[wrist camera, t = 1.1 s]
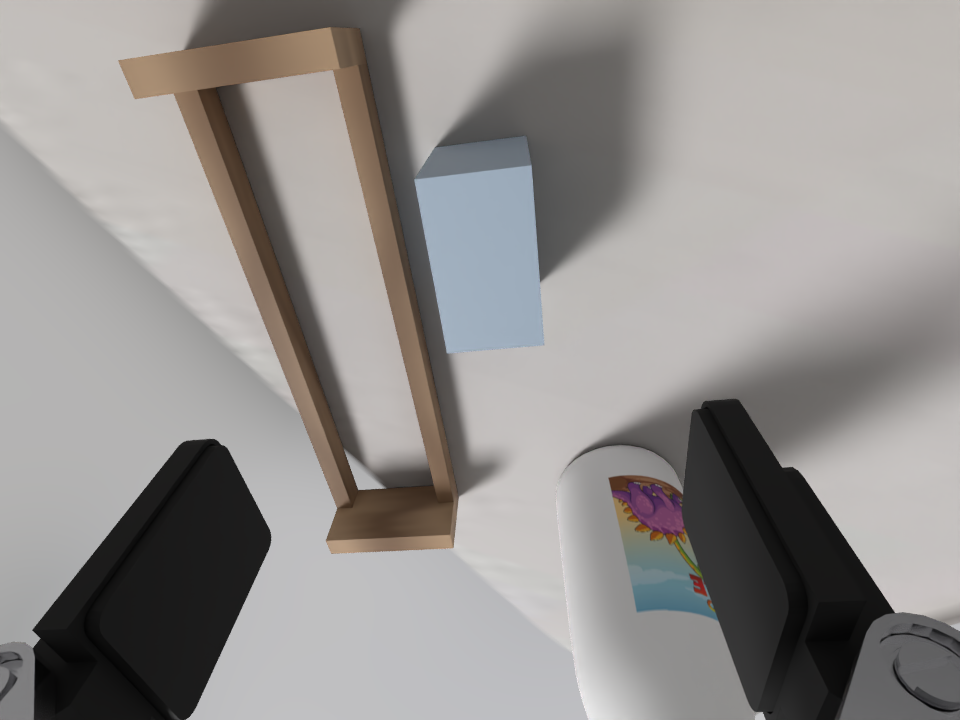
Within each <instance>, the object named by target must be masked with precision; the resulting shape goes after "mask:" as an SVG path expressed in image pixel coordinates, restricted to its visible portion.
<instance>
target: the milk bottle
mask: <svg viewBox="0 0 960 720" xmlns="http://www.w3.org/2000/svg"><path fill="white" fill-rule="evenodd" d="M682 499H683V488H682V486H681V484H680V481H679V479H678V477H677V474H676V473H675V471H674V469H673V468H672V467H671V465H670V464H669V463H668V462H666V461H665V460H664V459H663V458H662V457H660V456H659V455H657V454H655V453H654V452H652V451H649V450H646V449H644V448H641V447H635V446H631V445H615V446H606V447H602V448H598V449H595V450H592V451H590V452H588V453H585V454H583V455H582V456H580V457H579V458H577V459H575V460H574V461H573V462H572V463H571V464H570V465H569V466H568V467H567V468H566V470H565V471H564V472H563V473H562V475H561V478H560V480H559V482H558V484H557V488H556V508H557V518H558V528H559V538H560V547H561V557H562V566H563V576H564V585H565V594H566V602H567V611H568V620H569V629H570V637H571V644H572V651H573V658H574V664H575V671H576V677H577V681H578V686H579V690H580V694H581V698H582V701H583V704H584V707H585V711H586V714H587V716H588V719H589V720H755V711H753V710H752V709H751V707H750V705H749V703H748V701H747V698H746V695H745V693H744V690H743V687H742V684H741V682H740V679H739V676H738V673H737V671H736V668H735V665H734V662H733V660H732V657H731V654H730V651H729V649H728V646H727V643H726V640H725V637H724V635H723V632H722V629H721V626H720V624H719V621H718V618H717V615H716V613H715V610H714V607H713V604H712V602H711V599H710V596H709V593H708V591H707V588H706V585H705V582H704V580H703V577H702V574H701V571H700V568H699V566H698V563H697V560H696V557H695V555H694V552H693V549H692V546H691V544H690V541H689V538H688V535H687V533H686V530H685V527H684V524H683V519H682Z"/></svg>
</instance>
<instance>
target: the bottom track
mask: <svg viewBox="0 0 960 720" xmlns="http://www.w3.org/2000/svg"><path fill="white" fill-rule="evenodd" d="M118 61H119V64H120V66H121V68H122V71H123V73H124V75H125V78H126V80H127V82H128V85H129V87H130V89H131V91H132V94H133V96H134V98H135V99H139V98H146V97H153V96H159V95H166V94H173V93H174V96H175V98H176V101H177V103H178V106H179V108H180V111H181V113H182V116H183V118H184V121H185V123H186V126H187V129H188V131H189V134H190V136H191V139H192V141H193V144H194V146H195V149H196V151H197V154H198V156H199V159H200V161H201V164H202V167H203V169H204V172H205V174H206V177H207V179H208V182H209V184H210V187H211V189H212V192H213V194H214V197H215V200H216V202H217V205H218V207H219V210H220V212H221V215H222V217H223V220H224V222H225V225H226V227H227V230H228V232H229V235H230V238H231V240H232V243H233V245H234V248H235V250H236V253H237V255H238V258H239V260H240V263H241V265H242V268H243V270H244V273H245V276H246V278H247V281H248V283H249V286H250V288H251V291H252V293H253V296H254V298H255V301H256V303H257V306H258V308H259V311H260V314H261V316H262V319H263V321H264V324H265V326H266V329H267V331H268V334H269V336H270V339H271V341H272V344H273V347H274V349H275V352H276V354H277V357H278V359H279V362H280V364H281V367H282V369H283V372H284V374H285V377H286V379H287V382H288V385H289V387H290V390H291V392H292V395H293V397H294V400H295V402H296V405H297V407H298V410H299V412H300V415H301V417H302V420H303V423H304V425H305V428H306V430H307V433H308V435H309V438H310V440H311V443H312V445H313V448H314V450H315V453H316V455H317V458H318V461H319V463H320V466H321V468H322V471H323V473H324V476H325V478H326V481H327V483H328V486H329V488H330V491H331V493H332V496H333V498H334V501H335V504H336V506H337V511H336V514H335V517H334V520H333V523H332V525H331V528H330V531H329V533H328V536H327V539H326V542H327V545H328V547H329V549H330V551H331V553H332V554H334V553H355V552H380V551H402V550H423V549H446V548H453V546H454V537H455V527H456V518H457V508H458V499H459V497H458V492H457V487H456V483H455V478H454V473H453V468H452V464H451V459H450V454H449V449H448V445H447V440H446V435H445V430H444V426H443V421H442V416H441V412H440V407H439V402H438V397H437V393H436V388H435V383H434V378H433V374H432V369H431V364H430V359H429V355H428V350H427V345H426V341H425V336H424V331H423V326H422V322H421V317H420V312H419V307H418V303H417V298H416V293H415V288H414V284H413V279H412V274H411V269H410V265H409V260H408V255H407V251H406V246H405V241H404V236H403V232H402V227H401V222H400V217H399V213H398V208H397V203H396V198H395V194H394V189H393V184H392V179H391V175H390V170H389V165H388V161H387V156H386V151H385V146H384V142H383V137H382V132H381V127H380V123H379V118H378V113H377V108H376V104H375V99H374V94H373V89H372V85H371V80H370V75H369V71H368V66H367V61H366V56H365V52H364V47H363V42H362V37H361V33H360V28H337V27H328V28H322V29H315V30H309V31H303V32H296V33H290V34H284V35H277V36H271V37H265V38H258V39H252V40H245V41H239V42H233V43H226V44H220V45H214V46H207V47H201V48H195V49H188V50H182V51H175V52H169V53H163V54H156V55H150V56H144V57H137V58H131V59H125V60H118ZM328 70H333V72H334V76H335V80H336V84H337V88H338V92H339V96H340V101H341V105H342V109H343V113H344V117H345V121H346V125H347V129H348V134H349V138H350V142H351V146H352V150H353V154H354V158H355V162H356V166H357V171H358V175H359V179H360V183H361V187H362V191H363V195H364V199H365V204H366V208H367V212H368V216H369V220H370V224H371V228H372V232H373V236H374V241H375V245H376V249H377V253H378V257H379V261H380V265H381V269H382V274H383V278H384V282H385V286H386V290H387V294H388V298H389V302H390V306H391V311H392V315H393V319H394V323H395V327H396V331H397V335H398V339H399V344H400V348H401V352H402V356H403V360H404V364H405V368H406V372H407V376H408V381H409V385H410V389H411V393H412V397H413V401H414V405H415V409H416V414H417V418H418V422H419V426H420V430H421V434H422V438H423V442H424V446H425V451H426V455H427V459H428V463H429V467H430V471H431V475H432V479H433V484H434V486H422V487H405V488H388V489H371V490H358V488H357V486H356V483H355V480H354V477H353V474H352V471H351V469H350V466H349V463H348V460H347V457H346V454H345V452H344V449H343V446H342V443H341V440H340V438H339V435H338V432H337V429H336V426H335V423H334V421H333V418H332V415H331V412H330V409H329V406H328V404H327V401H326V398H325V395H324V392H323V390H322V387H321V384H320V381H319V378H318V375H317V373H316V370H315V367H314V364H313V361H312V358H311V356H310V353H309V350H308V347H307V344H306V342H305V339H304V336H303V333H302V330H301V327H300V325H299V322H298V319H297V316H296V313H295V310H294V308H293V305H292V302H291V299H290V296H289V294H288V291H287V288H286V285H285V282H284V279H283V277H282V274H281V271H280V268H279V265H278V262H277V260H276V257H275V254H274V251H273V248H272V246H271V243H270V240H269V237H268V234H267V231H266V229H265V226H264V223H263V220H262V217H261V214H260V212H259V209H258V206H257V203H256V200H255V198H254V195H253V192H252V189H251V186H250V183H249V181H248V178H247V175H246V172H245V169H244V166H243V164H242V161H241V158H240V155H239V152H238V150H237V147H236V144H235V141H234V138H233V135H232V133H231V130H230V127H229V124H228V121H227V118H226V116H225V113H224V110H223V107H222V104H221V102H220V99H219V96H218V93H217V90H216V87H220V86H227V85H234V84H241V83H247V82H254V81H261V80H268V79H274V78H281V77H288V76H295V75H301V74H308V73H315V72H322V71H328Z"/></svg>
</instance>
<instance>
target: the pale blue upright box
mask: <svg viewBox="0 0 960 720" xmlns="http://www.w3.org/2000/svg"><path fill="white" fill-rule="evenodd" d="M414 181H415V186H416V192H417V197H418V202H419V207H420V213H421V218H422V223H423V229H424V234H425V239H426V245H427V250H428V255H429V260H430V266H431V271H432V276H433V282H434V287H435V292H436V298H437V303H438V308H439V313H440V319H441V324H442V329H443V335H444V340H445V345H446V351H447V353H458V352H469V351H481V350H493V349H505V348H516V347H528V346H540V345H544V334H543V320H542V306H541V292H540V278H539V263H538V249H537V235H536V221H535V207H534V192H533V178H532V165H531V159H530V154H529V148H528V143H527V137H526V136H519V137H511V138H504V139H496V140H488V141H480V142H473V143H465V144H457V145H449V146H442V147H435V148H434V150H433V151H432V153H431V154H430V156H429V157H428V159H427V161H426V162H425V164H424V165H423V167H422V168H421V170H420V171H419V173H418V175H417V176H416V178H415V179H414Z"/></svg>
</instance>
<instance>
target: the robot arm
mask: <svg viewBox="0 0 960 720" xmlns="http://www.w3.org/2000/svg"><path fill="white" fill-rule="evenodd" d="M682 519H683V524H684V527H685V530H686V533H687V535H688V538H689V541H690V544H691V546H692V549H693V552H694V555H695V557H696V560H697V563H698V566H699V568H700V571H701V574H702V577H703V580H704V582H705V585H706V588H707V591H708V593H709V596H710V599H711V602H712V604H713V607H714V610H715V613H716V615H717V618H718V621H719V624H720V626H721V629H722V632H723V635H724V637H725V640H726V643H727V646H728V649H729V651H730V654H731V657H732V660H733V662H734V665H735V668H736V671H737V673H738V676H739V679H740V682H741V684H742V687H743V690H744V693H745V695H746V698H747V701H748V703H749V705H750V707H751V709H752V710H753V711H755V712H763V714H764V716H765V719H766V720H960V631H958V630H956V629H954V628H953V627H951V626H949V625H947V624H946V623H943V622H940V621H937V620H935V619H932V618H929V617H926V616H924V615H917V614H911V613H904V612H902V613H895V612H894V611H893V609H892V608H891V606H890V605H889V603H888V602H887V600H886V599H885V597H884V596H883V594H882V593H881V591H880V590H879V588H878V587H877V585H876V584H875V582H874V581H873V579H872V578H871V576H870V575H869V573H868V572H867V570H866V569H865V567H864V566H863V564H862V563H861V561H860V560H859V559H858V557H857V556H856V554H855V553H854V551H853V550H852V548H851V547H850V545H849V544H848V542H847V541H846V539H845V538H844V536H843V535H842V533H841V532H840V530H839V529H838V527H837V526H836V524H835V523H834V521H833V520H832V518H831V517H830V515H829V514H828V512H827V511H826V509H825V508H824V506H823V505H822V504H821V502H820V501H819V499H818V498H817V496H816V495H815V493H814V492H813V490H812V489H811V487H810V486H809V484H808V483H807V481H806V480H805V478H804V477H803V476H802V475H801V473H800V472H799V471H798V470H796V469H794V468H793V467H786V468H782V467H781V465H780V464H779V462H778V461H777V459H776V457H775V456H774V454H773V453H772V451H771V450H770V448H769V446H768V445H767V443H766V442H765V440H764V439H763V437H762V435H761V434H760V432H759V431H758V429H757V428H756V426H755V424H754V423H753V421H752V420H751V418H750V417H749V415H748V413H747V412H746V410H745V409H744V407H743V406H742V404H741V403H740V402H739V400H737V399H727V400H714V401H705V402H703V404H702V407H701V409H698V410H693V412H692V416H691V425H690V435H689V444H688V453H687V462H686V471H685V480H684V489H683V499H682ZM270 544H271V532H270V529H269V527H268V526H267V524H266V522H265V520H264V518H263V516H262V514H261V512H260V510H259V508H258V506H257V505H256V502H255V501H254V499H253V497H252V495H251V493H250V491H249V489H248V487H247V485H246V483H245V481H244V479H243V478H242V475H241V474H240V472H239V470H238V468H237V466H236V464H235V462H234V460H233V458H232V456H231V454H230V452H229V450H228V449H227V448H226V447H225V446H222V445H221V444H220V443H219V442H218V441H217V440H215V439H206V440H192V441H186V442H183V443H182V444H181V445H179V447H178V448H177V449H176V450H175V451H174V453H173V454H172V455H171V457H170V458H169V459H168V460H167V462H166V463H165V464H164V465H163V467H162V468H161V469H160V470H159V472H158V473H157V474H156V475H155V477H154V478H153V479H152V480H151V482H150V483H149V484H148V486H147V487H146V488H145V489H144V490H143V492H142V493H141V494H140V496H139V497H138V498H137V499H136V500H135V502H134V503H133V504H132V506H131V507H130V508H129V509H128V511H127V512H126V513H125V514H124V516H123V517H122V518H121V519H120V521H119V522H118V523H117V524H116V526H115V527H114V528H113V529H112V531H111V532H110V533H109V535H108V536H107V537H106V538H105V540H104V541H103V542H102V543H101V545H100V546H99V547H98V548H97V550H96V551H95V552H94V553H93V555H92V556H91V557H90V558H89V560H88V561H87V562H86V563H85V565H84V566H83V567H82V568H81V570H80V571H79V572H78V573H77V575H76V576H75V577H74V579H73V580H72V581H71V582H70V583H69V585H68V586H67V587H66V589H65V590H64V591H63V592H62V594H61V595H60V596H59V597H58V599H57V600H56V601H55V602H54V604H53V605H52V606H51V607H50V609H49V610H48V611H47V612H46V614H45V615H44V616H43V617H42V619H41V620H40V621H39V622H38V624H37V625H36V626H35V628H34V629H33V631H34V632H35V633H36V634H37V635H38V636H39V637H40V638H41V639H40V640H39V641H38V642H37V644H36V645H35V646H34V648H32V647H31V646H29V645H28V644H26V643H22V642H11V643H7V644H3V645H0V720H186V719H187V718H189V717H190V716H191V714H192V713H193V711H194V710H195V708H196V706H197V704H198V702H199V700H200V698H201V695H202V693H203V691H204V689H205V687H206V684H207V682H208V680H209V678H210V676H211V673H212V672H213V669H214V667H215V665H216V663H217V661H218V658H219V656H220V654H221V652H222V650H223V647H224V646H225V643H226V641H227V639H228V637H229V635H230V633H231V630H232V628H233V626H234V624H235V622H236V619H237V617H238V615H239V613H240V611H241V609H242V606H243V604H244V602H245V600H246V598H247V596H248V593H249V591H250V589H251V587H252V585H253V583H254V580H255V578H256V576H257V574H258V572H259V570H260V567H261V565H262V563H263V561H264V559H265V556H266V554H267V552H268V550H269V547H270Z"/></svg>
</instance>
